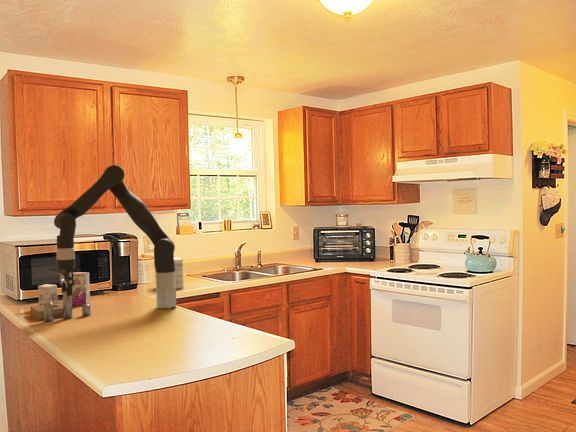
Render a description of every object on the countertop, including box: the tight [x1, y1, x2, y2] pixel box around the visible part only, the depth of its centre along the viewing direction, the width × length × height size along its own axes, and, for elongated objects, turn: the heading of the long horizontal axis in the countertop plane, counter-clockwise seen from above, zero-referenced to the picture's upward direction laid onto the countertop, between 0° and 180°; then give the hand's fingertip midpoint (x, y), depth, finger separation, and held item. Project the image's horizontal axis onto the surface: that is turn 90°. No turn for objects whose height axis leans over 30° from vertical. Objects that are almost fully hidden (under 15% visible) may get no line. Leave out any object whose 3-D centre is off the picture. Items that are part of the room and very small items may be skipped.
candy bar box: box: [72, 271, 91, 306], centre depth 260 cm, size 11×5×16 cm, turn 84°
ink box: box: [37, 283, 59, 305], centre depth 251 cm, size 9×5×12 cm, turn 62°
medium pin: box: [43, 302, 54, 323], centre depth 222 cm, size 4×4×8 cm
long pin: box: [62, 291, 73, 320], centre depth 227 cm, size 4×4×12 cm
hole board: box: [30, 301, 64, 322], centre depth 235 cm, size 16×14×4 cm
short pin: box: [81, 303, 92, 318], centre depth 232 cm, size 4×4×5 cm
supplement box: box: [174, 256, 184, 290], centre depth 307 cm, size 13×13×18 cm
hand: (66, 294), depth 227 cm, fingers open, 8 cm apart
